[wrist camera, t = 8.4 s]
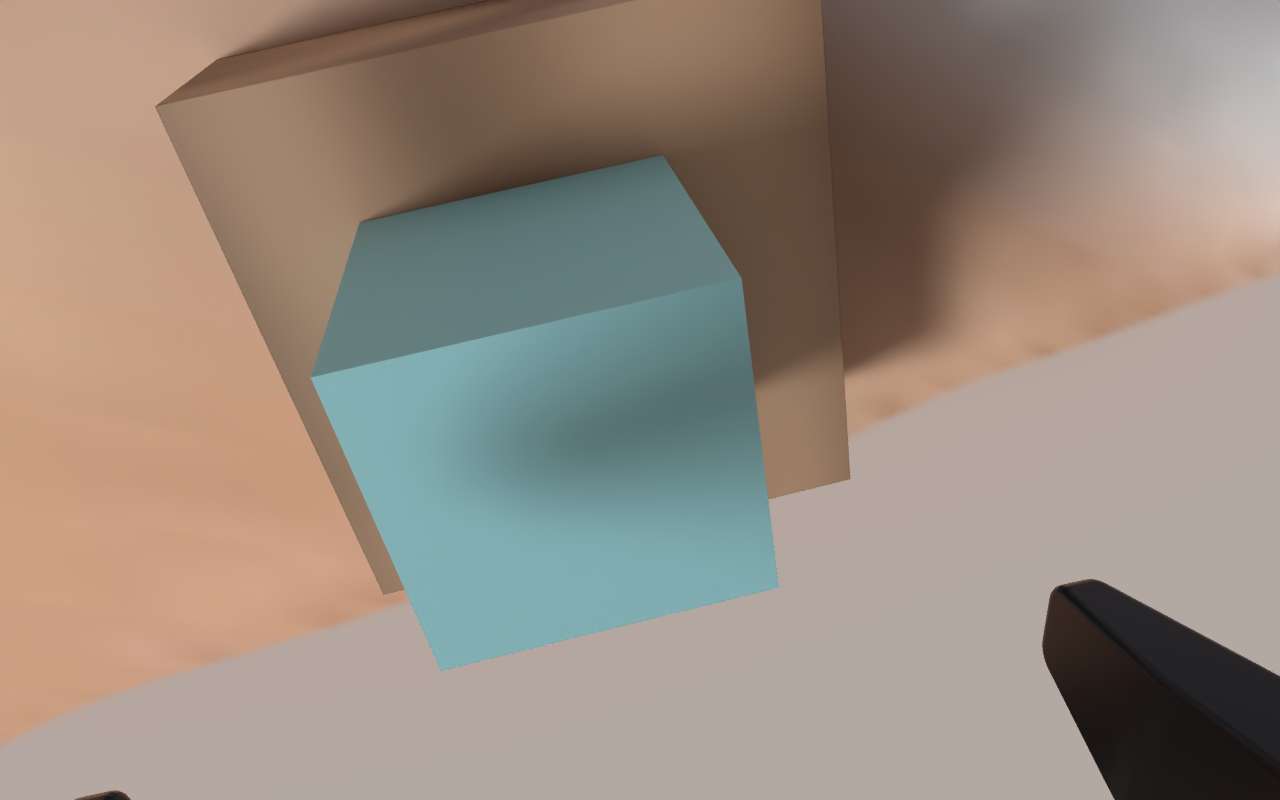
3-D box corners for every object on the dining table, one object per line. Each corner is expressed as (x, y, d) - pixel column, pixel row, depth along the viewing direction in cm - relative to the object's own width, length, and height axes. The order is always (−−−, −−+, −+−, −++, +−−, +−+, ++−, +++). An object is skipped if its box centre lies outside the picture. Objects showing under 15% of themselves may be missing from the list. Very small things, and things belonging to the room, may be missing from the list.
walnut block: (747, -60, 17) (818, -41, 13) (792, 384, 22) (850, 479, 19) (221, 55, 16) (155, 106, 13) (397, 480, 21) (383, 594, 18)
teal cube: (663, 154, 14) (741, 277, 10) (703, 407, 17) (779, 587, 13) (359, 222, 14) (310, 376, 10) (449, 467, 17) (441, 671, 13)
